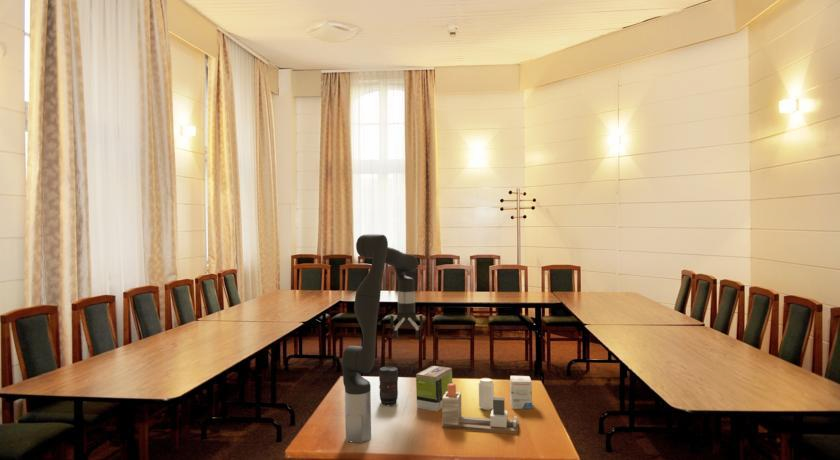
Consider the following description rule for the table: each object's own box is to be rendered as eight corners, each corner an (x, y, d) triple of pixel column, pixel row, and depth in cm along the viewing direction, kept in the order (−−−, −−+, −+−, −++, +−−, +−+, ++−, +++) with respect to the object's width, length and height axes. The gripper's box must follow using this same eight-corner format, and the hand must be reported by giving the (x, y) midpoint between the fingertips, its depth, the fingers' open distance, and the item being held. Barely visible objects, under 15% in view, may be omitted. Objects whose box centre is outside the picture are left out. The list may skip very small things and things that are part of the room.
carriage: (506, 427, 193) (506, 402, 193) (490, 426, 194) (489, 401, 194) (507, 420, 200) (507, 396, 200) (492, 419, 201) (491, 395, 201)
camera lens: (397, 406, 222) (397, 371, 222) (378, 406, 222) (378, 371, 222) (398, 399, 230) (398, 366, 230) (380, 400, 230) (380, 366, 230)
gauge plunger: (455, 412, 199) (455, 386, 199) (447, 411, 200) (446, 385, 200) (456, 409, 202) (456, 383, 202) (448, 408, 203) (448, 383, 203)
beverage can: (493, 411, 215) (493, 382, 214) (478, 410, 216) (478, 381, 216) (494, 406, 221) (494, 377, 220) (479, 405, 222) (479, 377, 222)
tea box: (433, 397, 232) (433, 364, 232) (453, 401, 227) (453, 367, 227) (415, 408, 219) (415, 373, 219) (436, 412, 214) (436, 376, 214)
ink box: (530, 402, 225) (530, 375, 224) (532, 409, 216) (532, 381, 216) (510, 402, 225) (509, 375, 225) (511, 408, 217) (511, 380, 217)
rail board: (517, 434, 191) (516, 403, 191) (442, 428, 197) (441, 398, 197) (518, 424, 200) (518, 394, 200) (447, 418, 207) (446, 390, 207)
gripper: (389, 302, 223) (390, 340, 223) (422, 302, 223) (423, 340, 223) (390, 300, 230) (390, 337, 230) (422, 300, 231) (423, 336, 231)
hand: (406, 338), depth 227 cm, fingers open, 8 cm apart
